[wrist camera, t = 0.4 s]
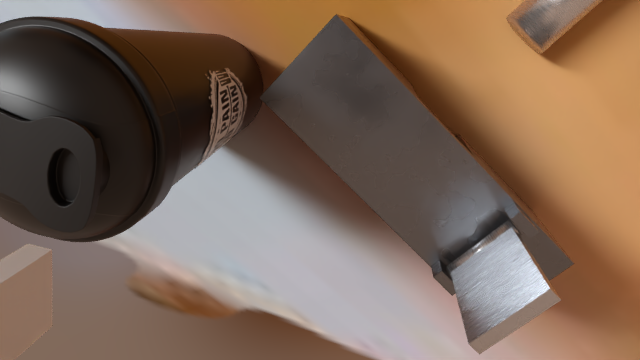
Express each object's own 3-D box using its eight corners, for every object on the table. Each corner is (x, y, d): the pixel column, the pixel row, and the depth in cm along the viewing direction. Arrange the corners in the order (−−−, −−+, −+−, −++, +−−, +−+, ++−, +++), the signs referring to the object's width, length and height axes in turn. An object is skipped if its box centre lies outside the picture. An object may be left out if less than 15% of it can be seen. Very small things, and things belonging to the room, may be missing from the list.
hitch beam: (288, 82, 38) (252, 101, 28) (348, 17, 35) (333, 13, 26) (466, 261, 40) (492, 337, 30) (532, 211, 38) (584, 276, 28)
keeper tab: (445, 263, 31) (464, 342, 23) (506, 216, 29) (549, 284, 21) (457, 275, 31) (480, 357, 23) (519, 229, 29) (565, 301, 21)
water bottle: (258, 159, 40) (106, 310, 19) (149, 124, 41) (-122, 232, 19) (286, 44, 37) (141, 64, 15) (168, 7, 37) (-138, -24, 16)
